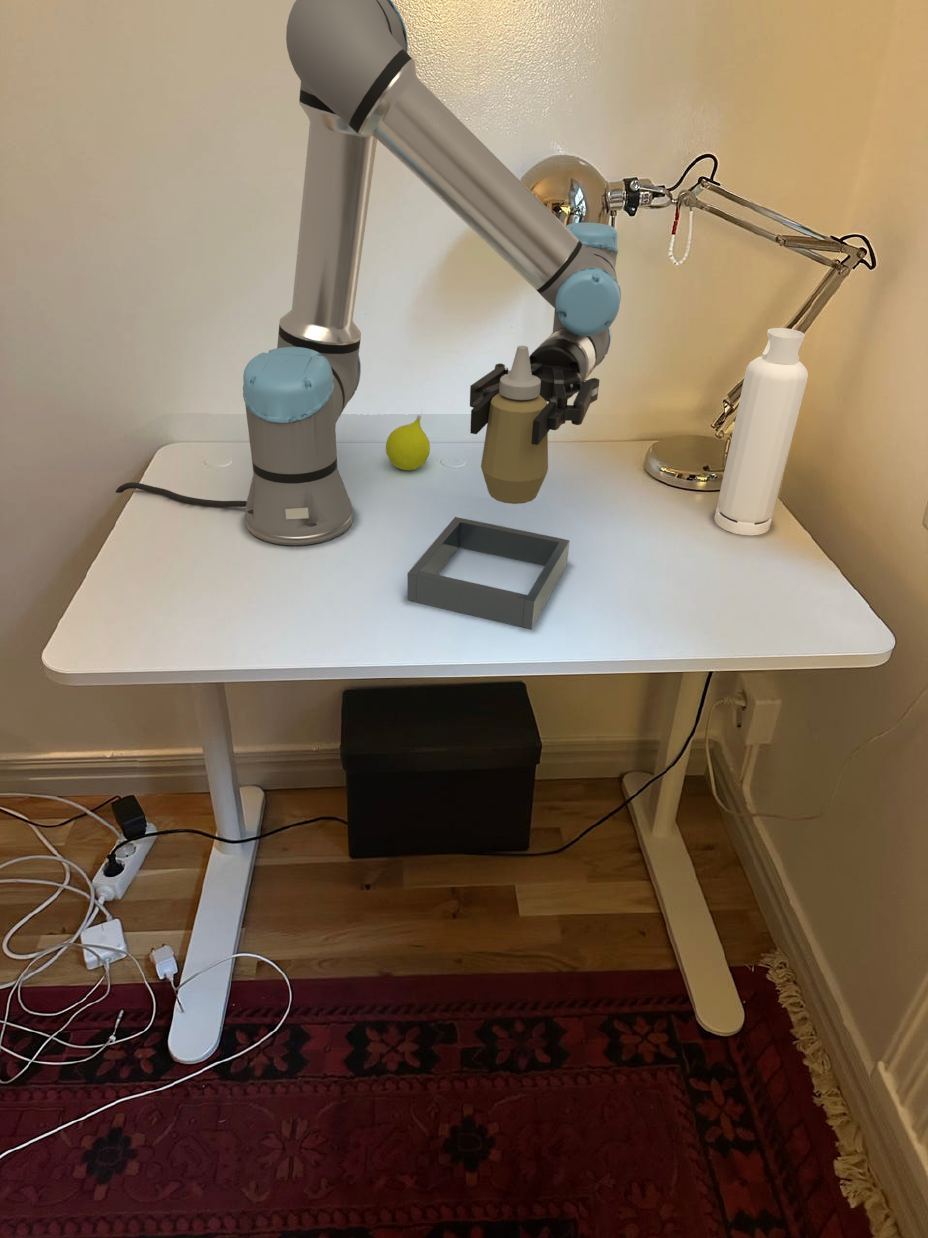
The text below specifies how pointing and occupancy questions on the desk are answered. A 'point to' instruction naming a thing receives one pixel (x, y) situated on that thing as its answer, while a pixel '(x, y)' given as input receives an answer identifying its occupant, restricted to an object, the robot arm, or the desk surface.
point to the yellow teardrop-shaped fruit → (408, 446)
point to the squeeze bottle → (515, 436)
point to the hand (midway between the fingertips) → (504, 427)
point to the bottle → (762, 434)
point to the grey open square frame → (479, 597)
